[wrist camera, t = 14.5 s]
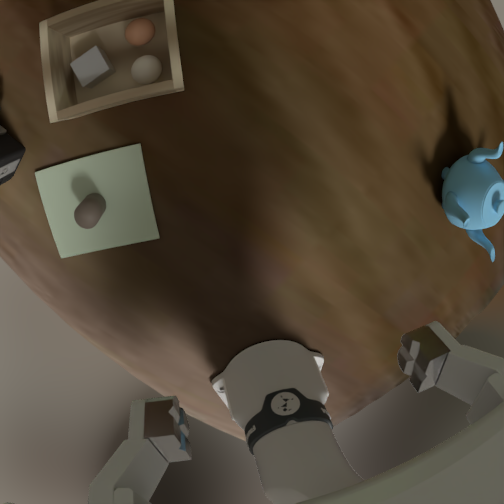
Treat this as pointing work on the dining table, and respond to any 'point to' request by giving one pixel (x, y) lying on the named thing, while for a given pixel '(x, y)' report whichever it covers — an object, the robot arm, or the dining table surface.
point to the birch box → (117, 50)
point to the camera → (9, 155)
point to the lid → (98, 201)
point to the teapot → (474, 194)
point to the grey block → (92, 67)
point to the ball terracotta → (140, 31)
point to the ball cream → (146, 69)
